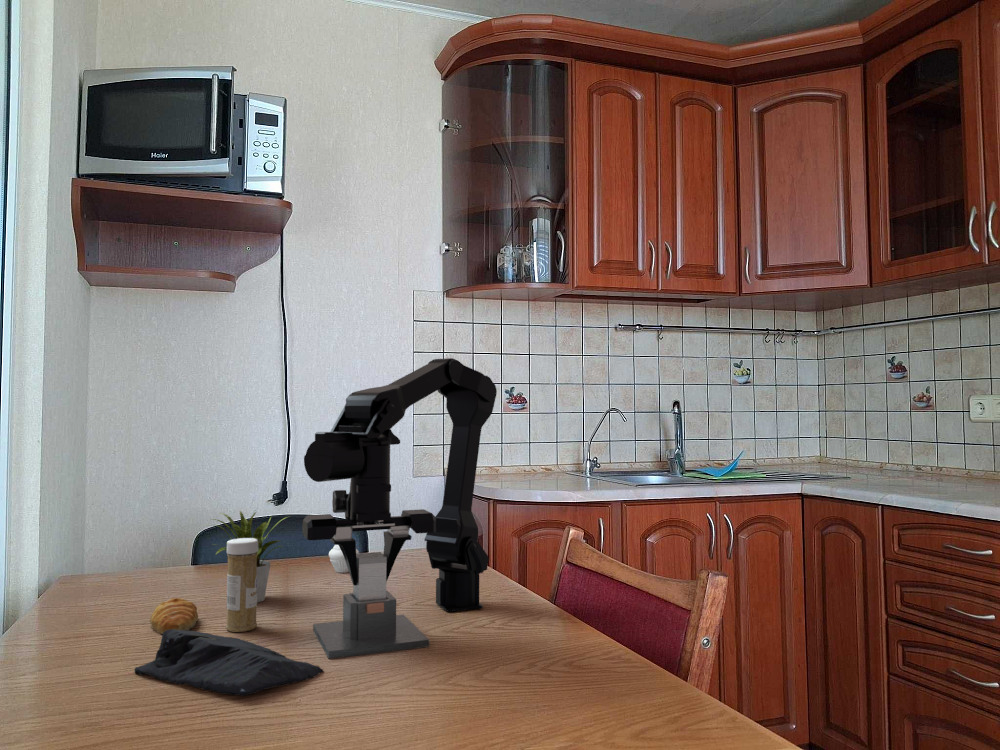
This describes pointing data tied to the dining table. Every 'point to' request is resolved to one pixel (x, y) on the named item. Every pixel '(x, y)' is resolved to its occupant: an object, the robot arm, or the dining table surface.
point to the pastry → (174, 615)
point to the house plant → (262, 565)
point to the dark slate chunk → (223, 664)
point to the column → (370, 577)
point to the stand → (368, 629)
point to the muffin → (338, 559)
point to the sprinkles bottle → (242, 584)
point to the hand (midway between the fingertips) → (369, 583)
